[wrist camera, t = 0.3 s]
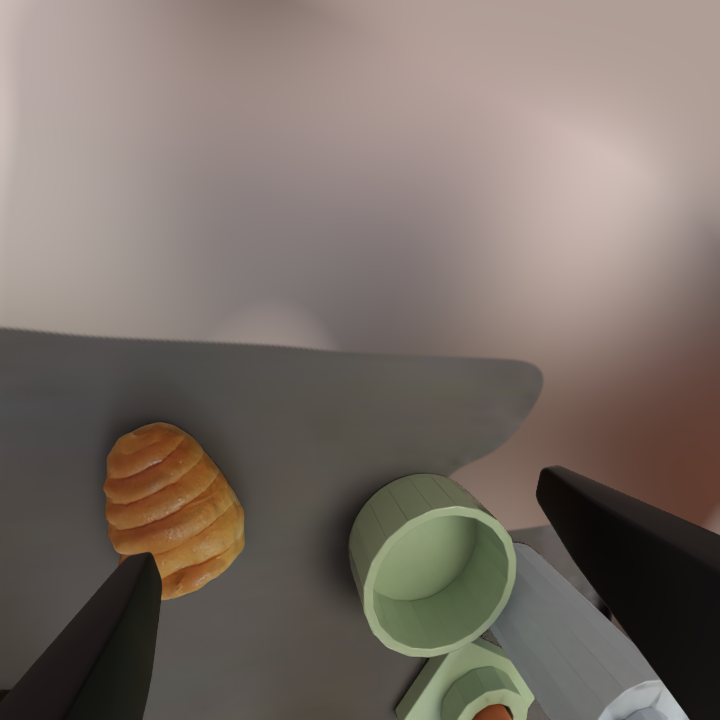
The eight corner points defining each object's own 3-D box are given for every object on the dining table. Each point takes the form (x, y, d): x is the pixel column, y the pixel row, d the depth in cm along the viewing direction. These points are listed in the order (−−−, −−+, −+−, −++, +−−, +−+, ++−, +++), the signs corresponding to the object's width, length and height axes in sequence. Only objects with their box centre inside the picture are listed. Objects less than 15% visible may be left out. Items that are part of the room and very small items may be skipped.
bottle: (511, 627, 30) (716, 907, 16) (453, 598, 28) (628, 884, 15) (555, 562, 30) (798, 785, 16) (500, 529, 28) (719, 748, 15)
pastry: (84, 442, 21) (44, 472, 17) (204, 402, 22) (191, 421, 19) (151, 577, 23) (128, 630, 19) (257, 533, 24) (255, 575, 21)
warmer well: (429, 620, 28) (457, 677, 24) (320, 569, 26) (329, 624, 21) (502, 510, 28) (544, 548, 24) (401, 448, 26) (428, 478, 21)
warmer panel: (485, 743, 31) (507, 787, 29) (394, 709, 29) (408, 755, 26) (538, 664, 32) (565, 701, 29) (452, 623, 29) (472, 659, 26)
